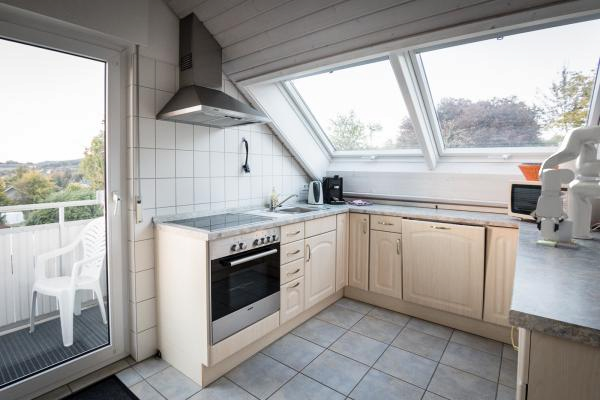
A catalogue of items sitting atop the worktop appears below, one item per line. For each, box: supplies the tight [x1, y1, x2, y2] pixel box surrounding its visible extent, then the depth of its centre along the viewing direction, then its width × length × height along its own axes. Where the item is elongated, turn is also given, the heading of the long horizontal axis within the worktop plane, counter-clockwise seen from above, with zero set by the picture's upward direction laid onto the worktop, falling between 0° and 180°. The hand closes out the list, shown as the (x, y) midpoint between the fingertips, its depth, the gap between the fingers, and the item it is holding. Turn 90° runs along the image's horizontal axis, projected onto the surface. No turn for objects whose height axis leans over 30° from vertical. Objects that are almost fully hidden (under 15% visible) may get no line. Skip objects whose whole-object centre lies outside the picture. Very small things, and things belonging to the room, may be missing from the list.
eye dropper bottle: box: [539, 217, 555, 238], centre depth 160 cm, size 4×6×12 cm
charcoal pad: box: [556, 243, 578, 250], centre depth 155 cm, size 7×7×1 cm
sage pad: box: [536, 239, 557, 247], centre depth 161 cm, size 7×7×1 cm
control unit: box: [543, 218, 577, 245], centre depth 165 cm, size 7×12×12 cm, turn 45°
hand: (547, 230), depth 160 cm, fingers closed on eye dropper bottle, 5 cm apart
